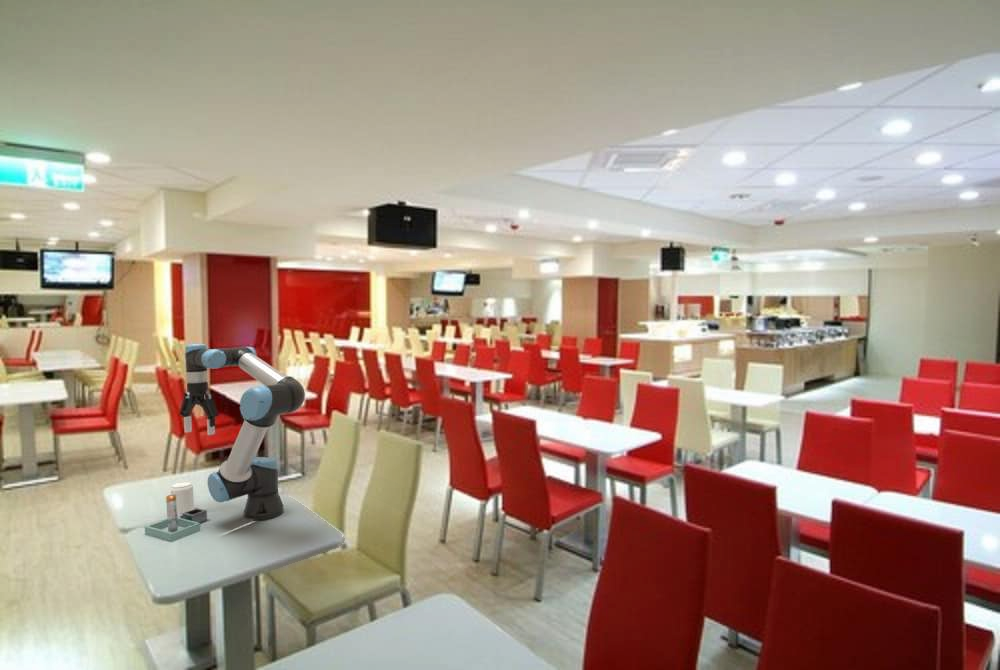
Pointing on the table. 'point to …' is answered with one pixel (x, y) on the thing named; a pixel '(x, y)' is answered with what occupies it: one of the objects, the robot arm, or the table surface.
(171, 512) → the grey orange cylinder
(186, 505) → the white upright cylinder
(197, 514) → the dark grey open box
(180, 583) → the table surface
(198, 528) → the tray
